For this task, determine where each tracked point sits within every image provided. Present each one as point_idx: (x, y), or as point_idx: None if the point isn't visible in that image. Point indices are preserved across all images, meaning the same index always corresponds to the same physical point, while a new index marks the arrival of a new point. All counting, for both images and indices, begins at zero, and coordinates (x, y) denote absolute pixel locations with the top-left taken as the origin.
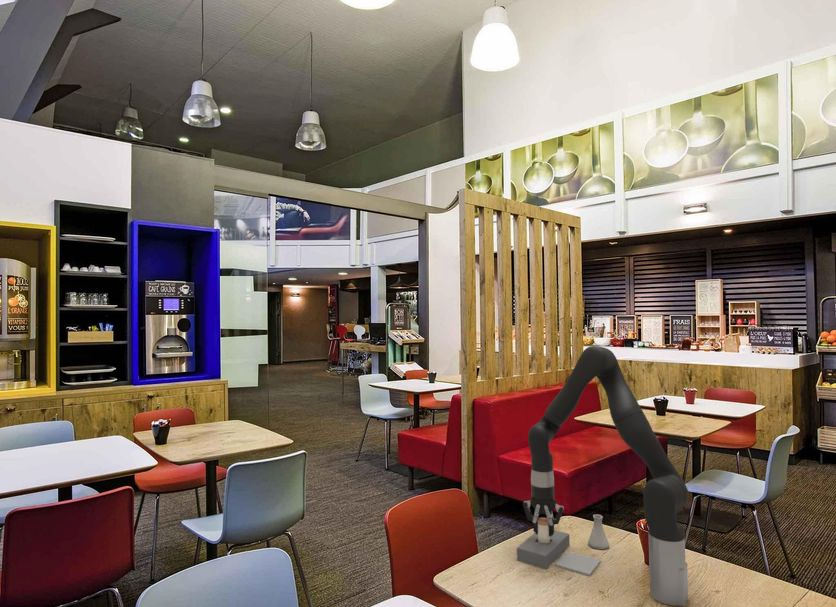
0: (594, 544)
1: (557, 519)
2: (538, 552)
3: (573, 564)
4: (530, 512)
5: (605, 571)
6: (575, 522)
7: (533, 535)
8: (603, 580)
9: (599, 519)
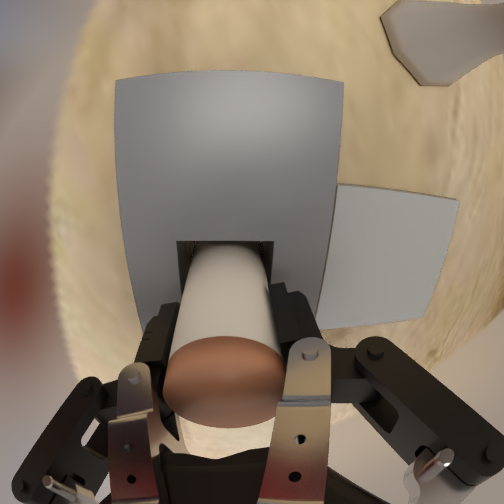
0: (435, 80)
1: (384, 417)
2: None
3: (378, 294)
4: (85, 429)
5: (460, 257)
6: None
7: (135, 253)
8: (447, 308)
9: None
